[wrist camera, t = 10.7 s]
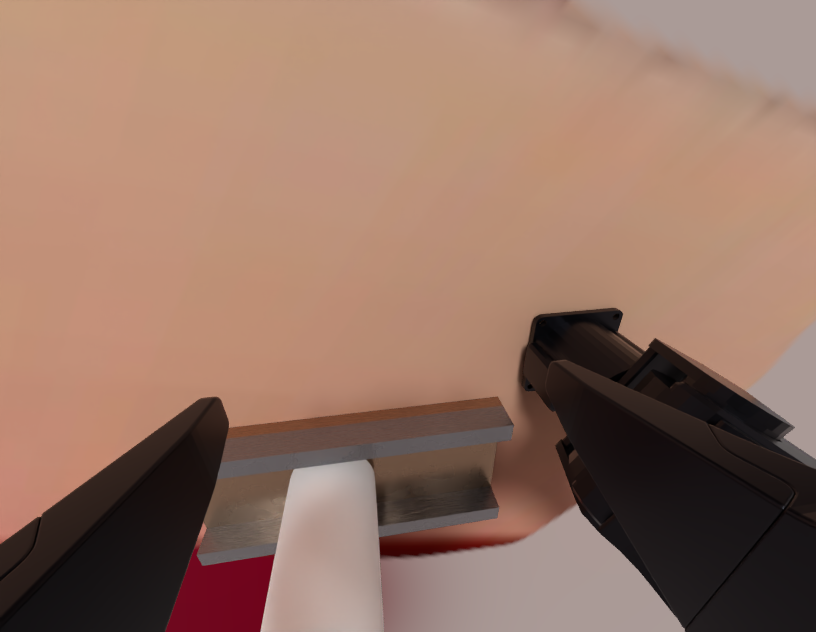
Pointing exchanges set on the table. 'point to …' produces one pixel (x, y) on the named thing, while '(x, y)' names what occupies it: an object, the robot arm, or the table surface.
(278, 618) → the can
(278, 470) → the track
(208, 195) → the table surface
